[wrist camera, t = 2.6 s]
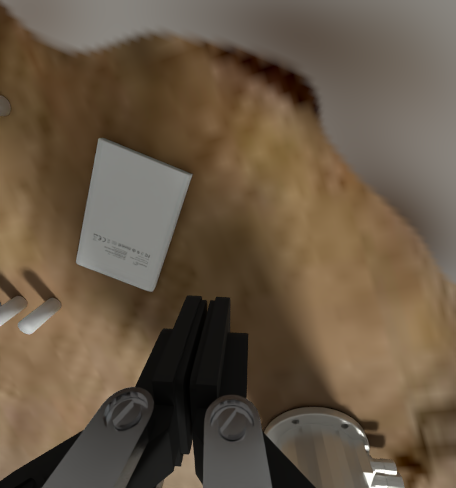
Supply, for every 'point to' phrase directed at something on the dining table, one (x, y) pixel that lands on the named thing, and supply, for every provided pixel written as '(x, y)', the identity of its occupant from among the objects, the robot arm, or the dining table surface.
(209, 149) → the dining table surface
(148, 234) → the external hard drive
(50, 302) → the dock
